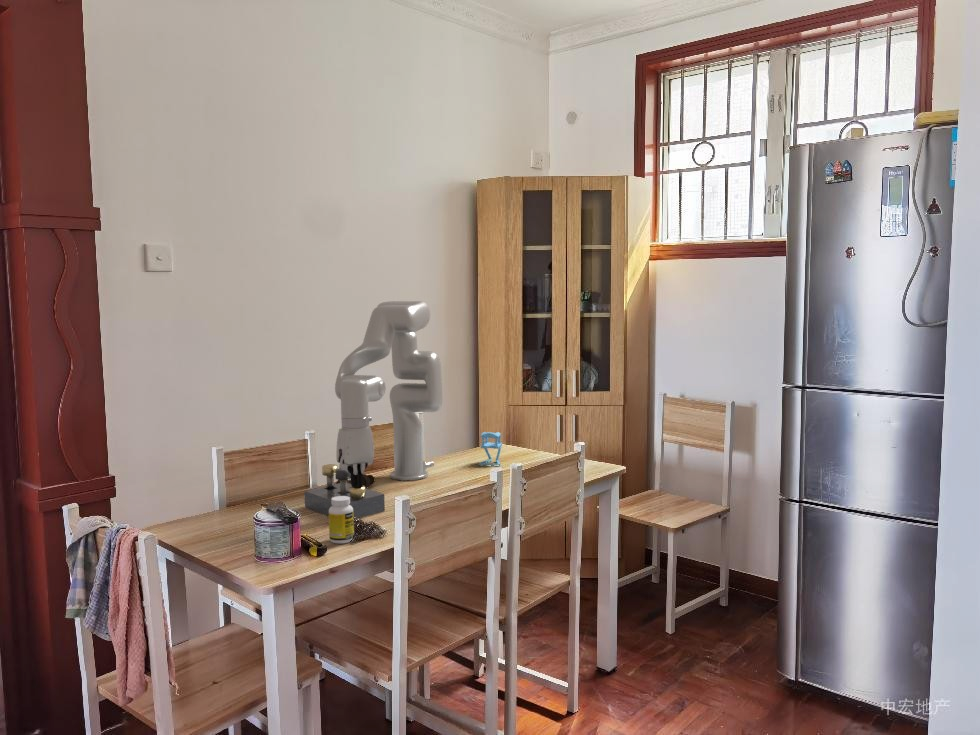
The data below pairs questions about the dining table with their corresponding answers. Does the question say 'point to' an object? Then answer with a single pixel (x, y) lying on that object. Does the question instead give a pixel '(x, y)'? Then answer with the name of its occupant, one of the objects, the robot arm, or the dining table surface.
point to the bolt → (366, 480)
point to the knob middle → (342, 479)
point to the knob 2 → (357, 492)
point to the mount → (361, 507)
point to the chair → (491, 446)
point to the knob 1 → (329, 474)
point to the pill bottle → (341, 520)
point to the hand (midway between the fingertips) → (357, 487)
